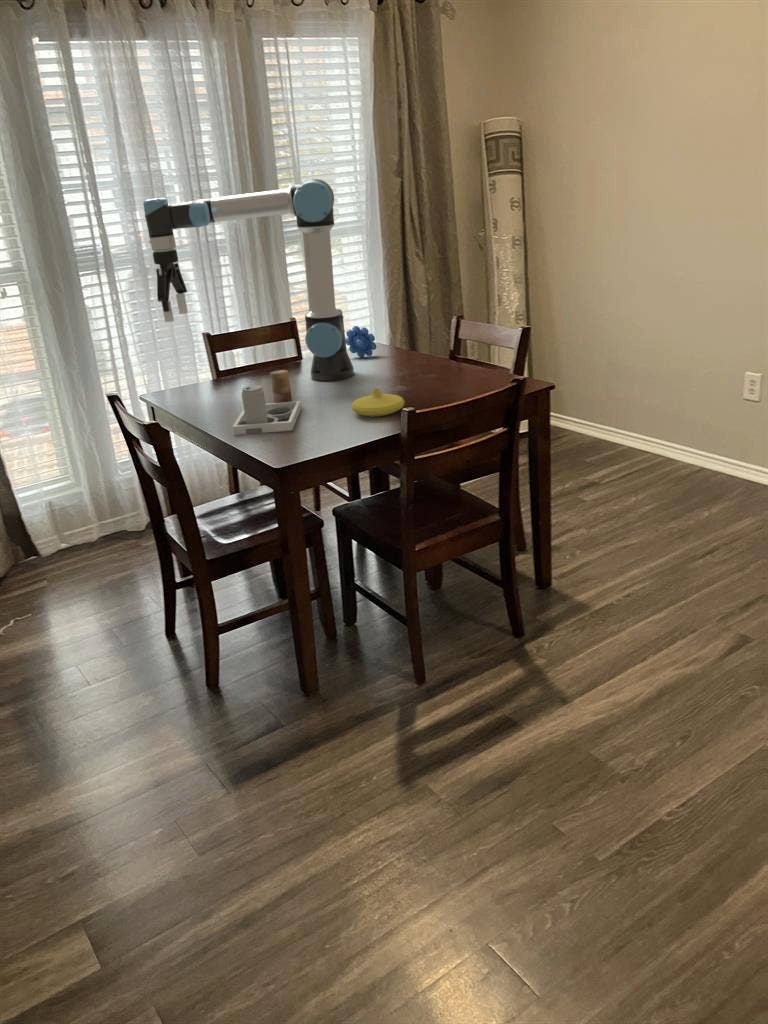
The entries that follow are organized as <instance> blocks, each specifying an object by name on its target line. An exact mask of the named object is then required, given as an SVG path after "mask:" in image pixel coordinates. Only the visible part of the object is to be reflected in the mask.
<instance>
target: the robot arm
mask: <svg viewBox="0 0 768 1024" xmlns="http://www.w3.org/2000/svg"><path fill="white" fill-rule="evenodd" d="M334 204H335V194H334V191H333V189H332V187H331V186H330V185H329V183H328V182H326V181H325V180H323V179H318V178H312V179H308V180H305V181H303V182H301V183H294V184H290V185H289V186H288V187H287V188H283V189H273V190H266V191H258V192H252V193H251V192H249V193H243V194H242V193H241V194H233V195H225V196H217V197H215V196H214V197H211V198H209V197H208V198H196V199H192V200H190V201H187V202H179V203H169V202H168V199H167V198H166V197H159V198H150V199H146V200H144V202H143V209H144V217H145V222H146V226H147V231H148V236H149V244H150V245H151V246H150V247H151V250H152V251H154V252H152V258H153V262H154V264H155V265H159V268H156V269H155V271H156V272H155V273H156V283H157V284H156V287H157V289H156V291H157V292H156V293H157V301H158V302H159V303H161V307H162V308H161V309H162V312H163V313H162V314H163V318H164V323H169V322H170V323H171V322H172V323H173V322H174V321H175V318H174V314H173V313H174V312H173V308H172V303H171V299H170V289H171V285H172V286H173V289H174V291H176V293H175V296H176V303H177V308H178V312H179V315H181V314H182V315H184V314H189V311H188V306H187V300H186V294H185V293H188V289H187V287H186V284H185V280H184V279H183V276H182V273H181V270H180V267H179V263H178V262H179V259H178V256H179V255H178V251H177V250H176V248H177V247H176V246H177V244H176V240H175V236H174V235H175V234H174V231H173V230H179V229H189V228H201V227H206V226H209V224H212V223H220V222H227V221H228V222H229V221H235V220H238V221H239V220H244V219H245V220H246V219H254V218H255V219H256V218H260V217H261V218H263V217H269V216H271V217H272V216H282V215H288V214H289V215H290V214H291V215H292V216H293V217H296V228H297V229H298V230H299V231H301V232H302V241H303V252H304V253H303V254H304V262H305V263H304V264H305V275H306V286H307V287H306V289H307V298H308V310H307V312H306V313H305V315H304V318H305V320H304V321H305V331H306V333H305V338H304V340H305V344H306V347H307V349H308V351H309V352H311V354H313V358H312V362H311V367H310V378H311V379H312V380H314V381H319V382H320V381H321V382H330V381H338V380H344V379H347V378H350V377H352V376H353V375H355V369H354V365H353V363H352V360H351V359H350V356H349V354H348V350H347V344H346V341H345V339H346V334H345V324H344V318H345V317H344V314H343V311H342V309H341V308H337V307H336V296H335V285H334V284H335V282H334V272H333V269H334V268H333V256H332V244H331V243H332V242H331V241H332V240H331V229H333V227H334V226H335V215H334Z"/></svg>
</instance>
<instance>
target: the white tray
mask: <svg viewBox="0 0 768 1024" xmlns="http://www.w3.org/2000/svg"><path fill="white" fill-rule="evenodd" d="M265 404H266V411H267V418H268V423H260V424H248V425H246V419H245V413H244V408H243V410H242V411H241V413H240V414H239V416H238V417H237V419H236V421H235V422H234V423H233V424H232V432H233V435H234V436H239V435H250V434H262V433H277V432H290V431H293V430H294V428H295V425H296V424H297V423H296V422H297V420H298V417H299V415H300V413H301V410H302V405H301V400H294V401H293V400H292V402H280V403H274V402H272V403H271V402H270V403H265ZM278 413H279V414H278ZM287 419H288V420H287ZM283 420H284V421H283ZM286 420H287V421H286Z"/></svg>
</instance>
